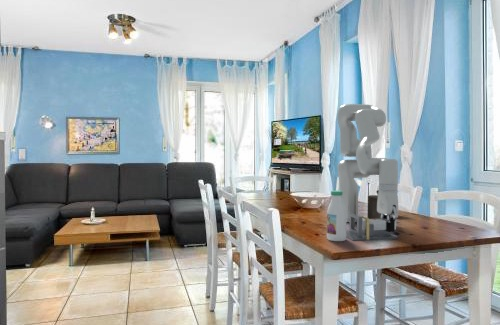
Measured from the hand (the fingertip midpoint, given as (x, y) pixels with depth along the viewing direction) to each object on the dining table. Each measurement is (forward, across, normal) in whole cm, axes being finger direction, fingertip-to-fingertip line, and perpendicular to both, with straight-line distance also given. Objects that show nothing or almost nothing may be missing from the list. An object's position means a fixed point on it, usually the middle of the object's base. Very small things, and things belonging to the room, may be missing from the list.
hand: (387, 230), depth 158 cm
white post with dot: (-1, 0, -4) cm, 4 cm away
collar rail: (+2, 0, -9) cm, 9 cm away
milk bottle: (+3, +3, -24) cm, 25 cm away
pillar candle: (+3, -25, +8) cm, 26 cm away
